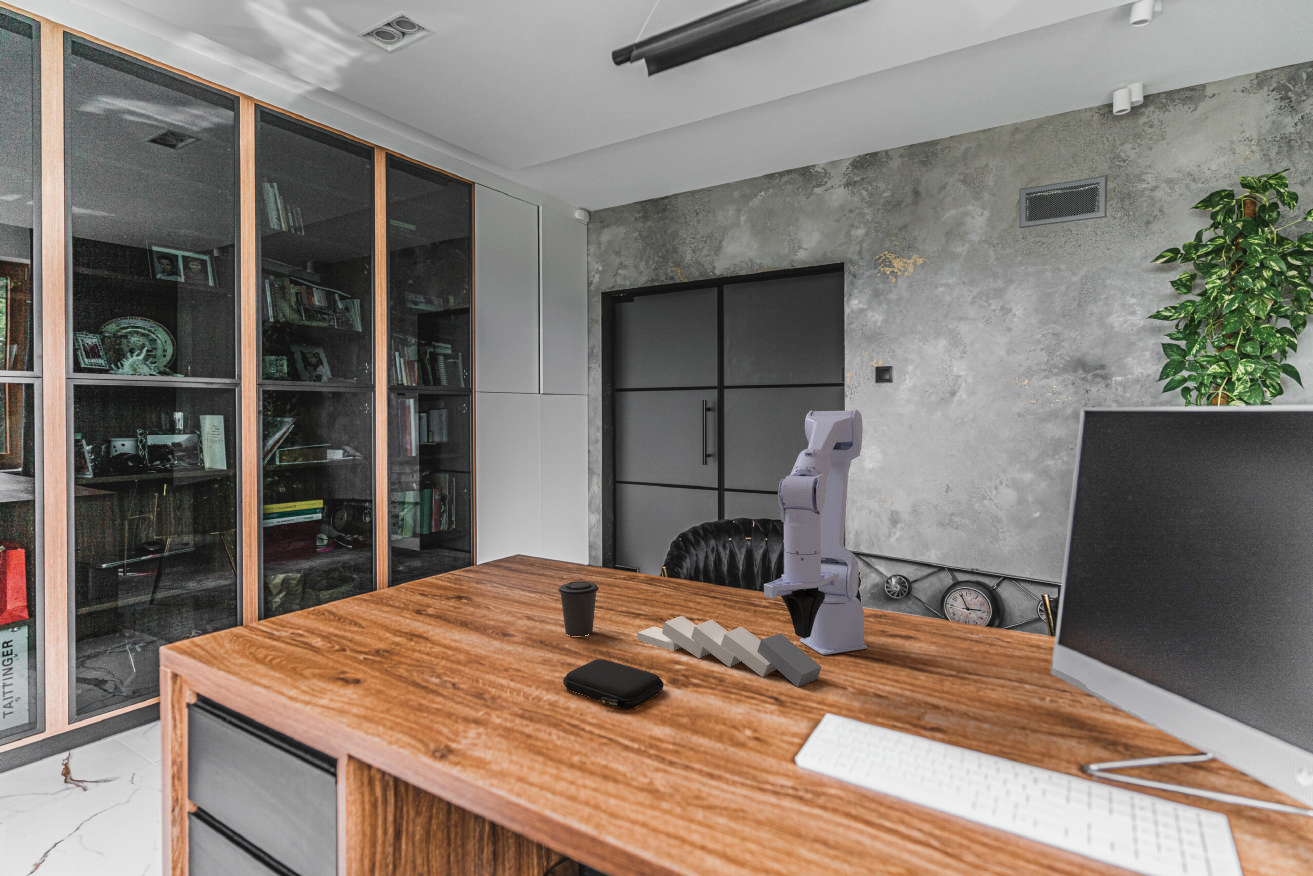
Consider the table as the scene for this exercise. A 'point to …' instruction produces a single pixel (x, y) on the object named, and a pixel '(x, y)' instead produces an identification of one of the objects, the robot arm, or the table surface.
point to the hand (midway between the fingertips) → (802, 636)
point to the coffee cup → (578, 607)
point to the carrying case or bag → (613, 683)
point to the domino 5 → (789, 659)
